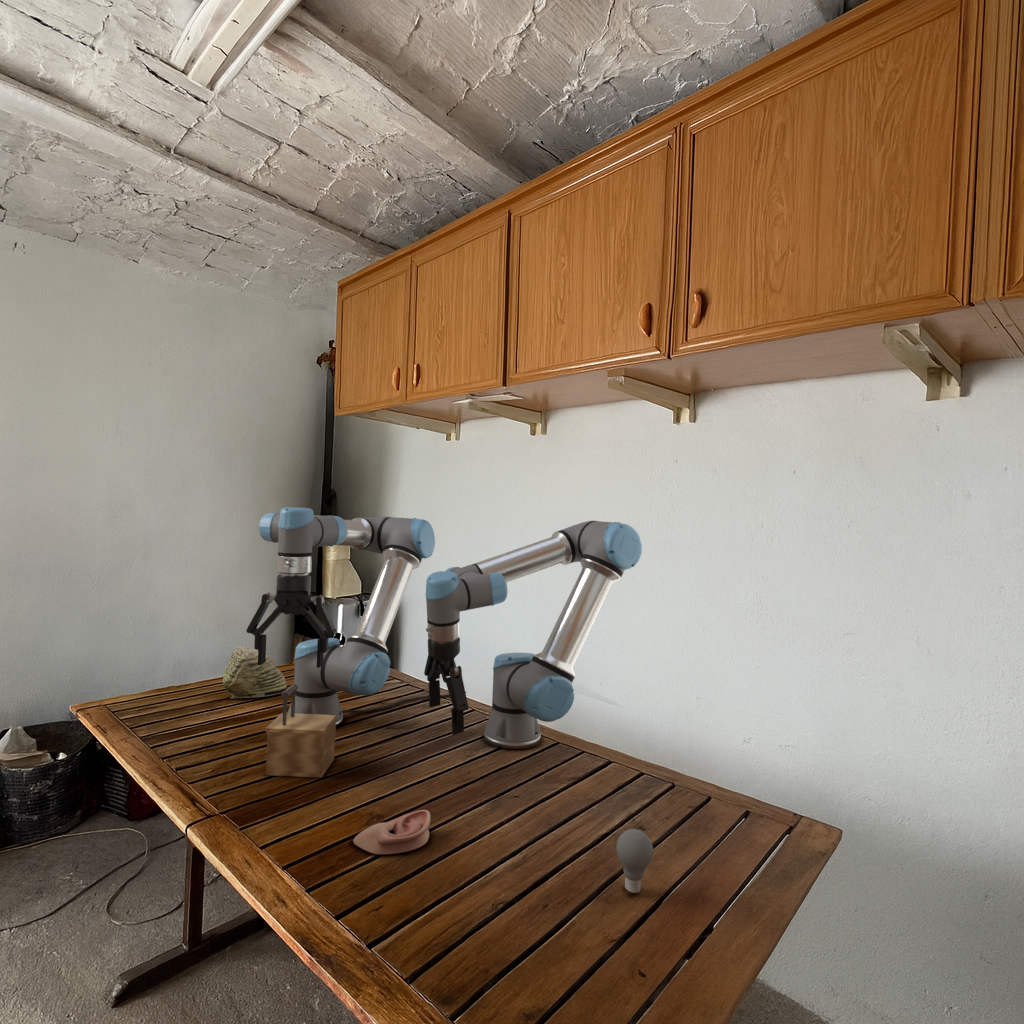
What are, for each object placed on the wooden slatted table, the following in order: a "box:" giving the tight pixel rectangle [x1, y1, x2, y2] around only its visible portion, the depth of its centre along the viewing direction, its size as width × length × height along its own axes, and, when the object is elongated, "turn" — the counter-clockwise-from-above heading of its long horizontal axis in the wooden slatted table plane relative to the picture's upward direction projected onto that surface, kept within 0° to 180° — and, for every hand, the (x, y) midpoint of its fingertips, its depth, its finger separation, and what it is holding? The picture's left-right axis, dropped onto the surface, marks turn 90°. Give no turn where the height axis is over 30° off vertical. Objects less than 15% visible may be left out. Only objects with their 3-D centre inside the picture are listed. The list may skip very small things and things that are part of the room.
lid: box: [265, 683, 336, 734], centre depth 148 cm, size 13×10×9 cm
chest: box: [265, 719, 337, 778], centre depth 148 cm, size 13×10×10 cm
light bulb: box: [615, 828, 654, 894], centre depth 106 cm, size 6×6×10 cm
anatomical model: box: [352, 809, 431, 856], centre depth 118 cm, size 13×4×12 cm
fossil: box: [222, 646, 288, 699], centre depth 198 cm, size 9×18×15 cm, turn 132°
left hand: (290, 665), depth 147 cm, fingers open, 13 cm apart
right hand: (446, 718), depth 153 cm, fingers open, 13 cm apart
